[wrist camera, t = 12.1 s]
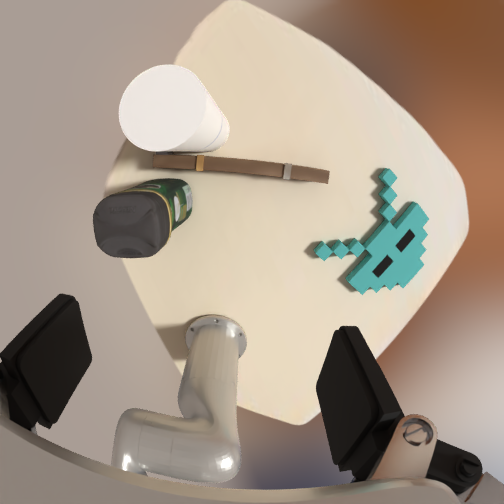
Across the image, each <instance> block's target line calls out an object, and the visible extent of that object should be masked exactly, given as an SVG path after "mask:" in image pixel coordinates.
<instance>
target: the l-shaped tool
mask: <svg viewBox="0 0 504 504" xmlns="http://www.w3.org/2000/svg"><path fill="white" fill-rule="evenodd" d="M153 167H157V168H182V169H196V171H203V170H214V171H227V172H238V173H249V174H258V175H267V176H276V177H283V179H288V180H290V178H292V179H299V180H306V181H313V182H319V183H326V184H328V179H329V172H330V171H327V170H323V169H317V168H310V167H304V166H297V165H292V164H288V163H285V164H282V163H274V162H266V161H257V160H247V159H236V158H224V157H211V156H204V155H197V156H194V155H173V151H156V155H154V156H153Z"/></svg>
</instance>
